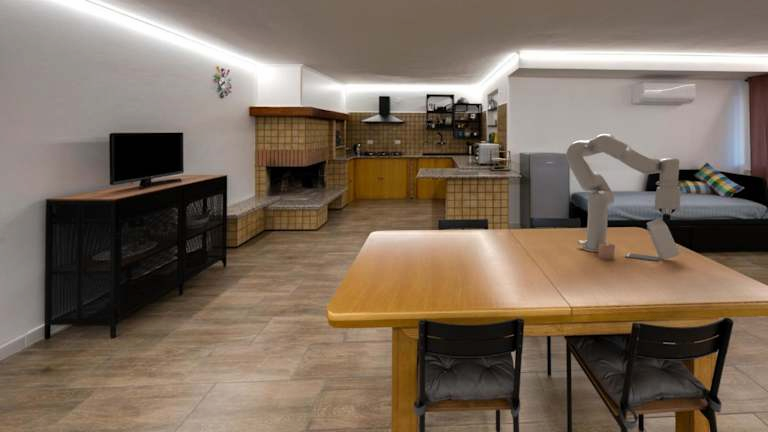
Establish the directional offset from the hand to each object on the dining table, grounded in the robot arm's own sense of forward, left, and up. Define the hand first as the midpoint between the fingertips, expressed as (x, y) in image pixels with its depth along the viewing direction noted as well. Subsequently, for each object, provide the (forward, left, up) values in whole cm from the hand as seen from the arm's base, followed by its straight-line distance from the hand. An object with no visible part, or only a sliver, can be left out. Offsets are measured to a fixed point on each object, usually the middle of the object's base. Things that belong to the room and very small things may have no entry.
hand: (666, 222), depth 216 cm
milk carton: (+3, 0, -17) cm, 17 cm away
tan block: (-23, -12, -19) cm, 32 cm away
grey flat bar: (-9, -1, -19) cm, 21 cm away
